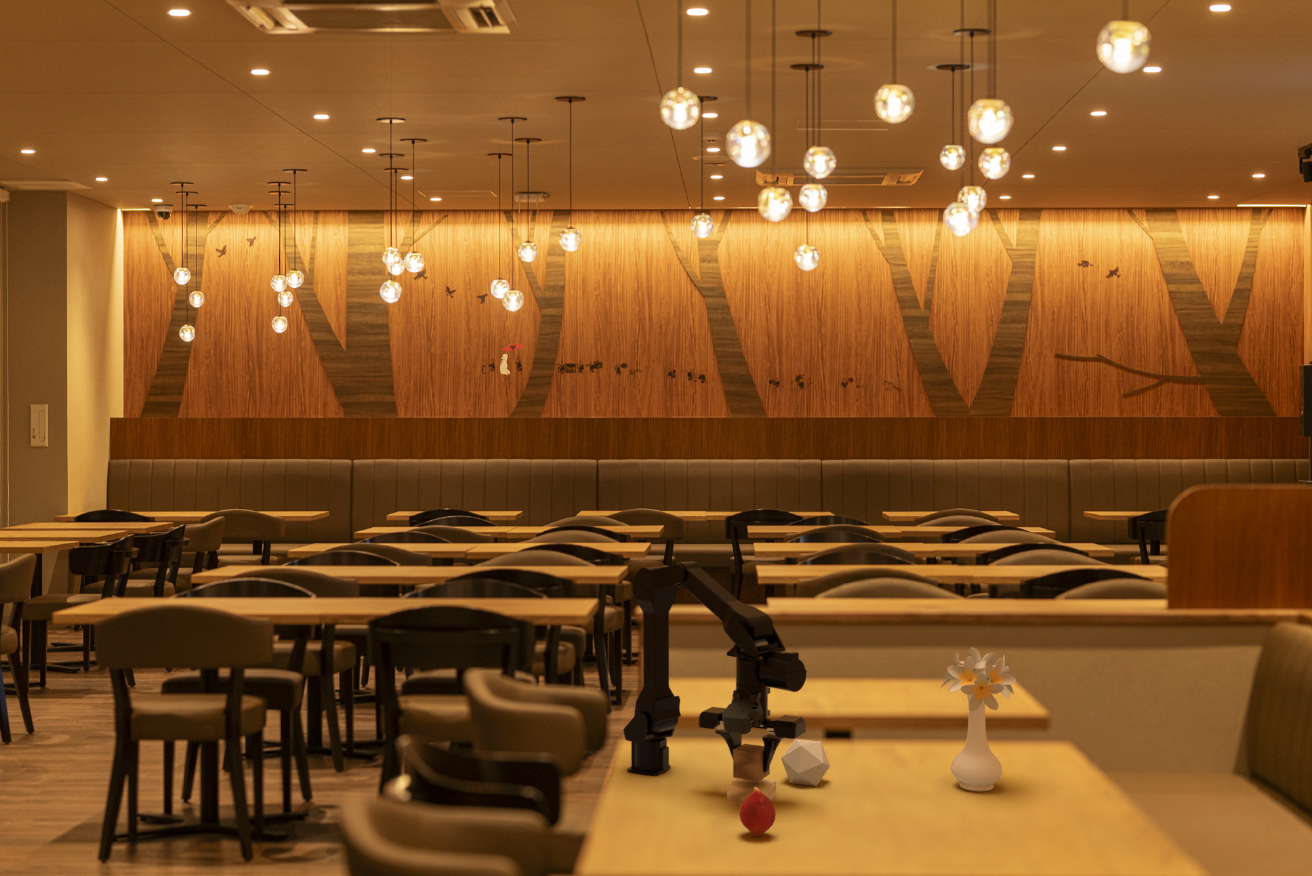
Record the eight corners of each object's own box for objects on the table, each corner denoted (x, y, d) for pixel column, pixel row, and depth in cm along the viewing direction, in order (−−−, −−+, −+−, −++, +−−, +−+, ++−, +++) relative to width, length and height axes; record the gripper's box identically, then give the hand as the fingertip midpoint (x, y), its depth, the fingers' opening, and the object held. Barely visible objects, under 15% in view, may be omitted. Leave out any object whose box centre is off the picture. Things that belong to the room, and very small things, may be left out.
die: (835, 783, 244) (814, 736, 248) (837, 771, 236) (815, 724, 241) (796, 800, 243) (775, 753, 248) (796, 789, 236) (775, 741, 240)
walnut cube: (733, 777, 231) (733, 749, 231) (744, 770, 235) (744, 743, 235) (759, 781, 228) (759, 753, 228) (769, 774, 233) (769, 746, 233)
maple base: (727, 803, 230) (727, 787, 230) (739, 793, 236) (739, 776, 236) (765, 808, 227) (765, 791, 227) (776, 797, 234) (776, 780, 234)
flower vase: (958, 803, 229) (958, 663, 228) (932, 774, 247) (932, 644, 247) (1030, 802, 229) (1031, 662, 229) (999, 774, 248) (999, 644, 247)
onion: (778, 832, 213) (778, 784, 212) (770, 843, 207) (770, 794, 207) (744, 829, 215) (744, 781, 214) (735, 839, 209) (735, 790, 209)
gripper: (685, 686, 229) (685, 774, 229) (784, 697, 220) (783, 788, 220) (711, 675, 239) (711, 759, 239) (806, 685, 230) (806, 772, 230)
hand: (751, 770), depth 232 cm, fingers closed on walnut cube, 5 cm apart
